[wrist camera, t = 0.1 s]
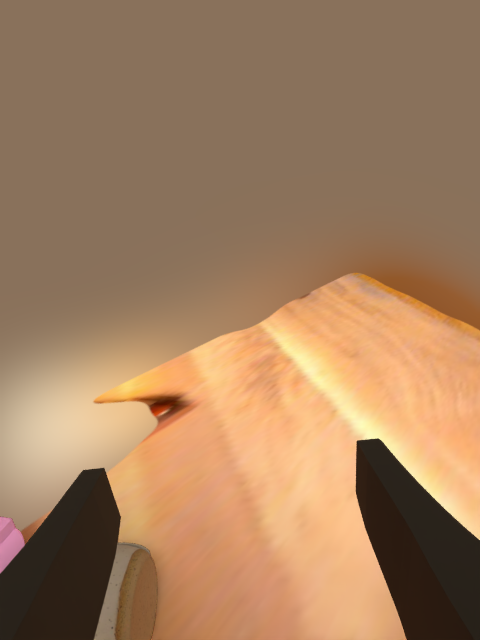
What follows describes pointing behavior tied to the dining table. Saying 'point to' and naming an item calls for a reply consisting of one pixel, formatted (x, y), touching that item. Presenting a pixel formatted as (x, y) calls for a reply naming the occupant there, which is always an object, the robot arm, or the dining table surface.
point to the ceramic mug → (129, 596)
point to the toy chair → (9, 541)
